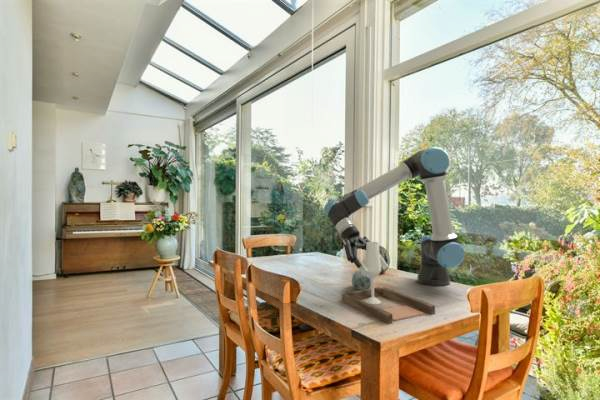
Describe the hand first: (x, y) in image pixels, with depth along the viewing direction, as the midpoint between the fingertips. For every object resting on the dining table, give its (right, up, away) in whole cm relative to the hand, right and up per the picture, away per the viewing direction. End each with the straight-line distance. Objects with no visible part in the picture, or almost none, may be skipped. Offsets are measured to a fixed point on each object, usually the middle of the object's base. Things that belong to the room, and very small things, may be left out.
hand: (376, 270), depth 142 cm
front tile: (+6, -13, -12) cm, 19 cm away
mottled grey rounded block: (-2, -13, +20) cm, 24 cm away
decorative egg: (+13, -12, +52) cm, 55 cm away
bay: (+2, -13, -5) cm, 14 cm away
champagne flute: (-1, -13, +2) cm, 13 cm away
